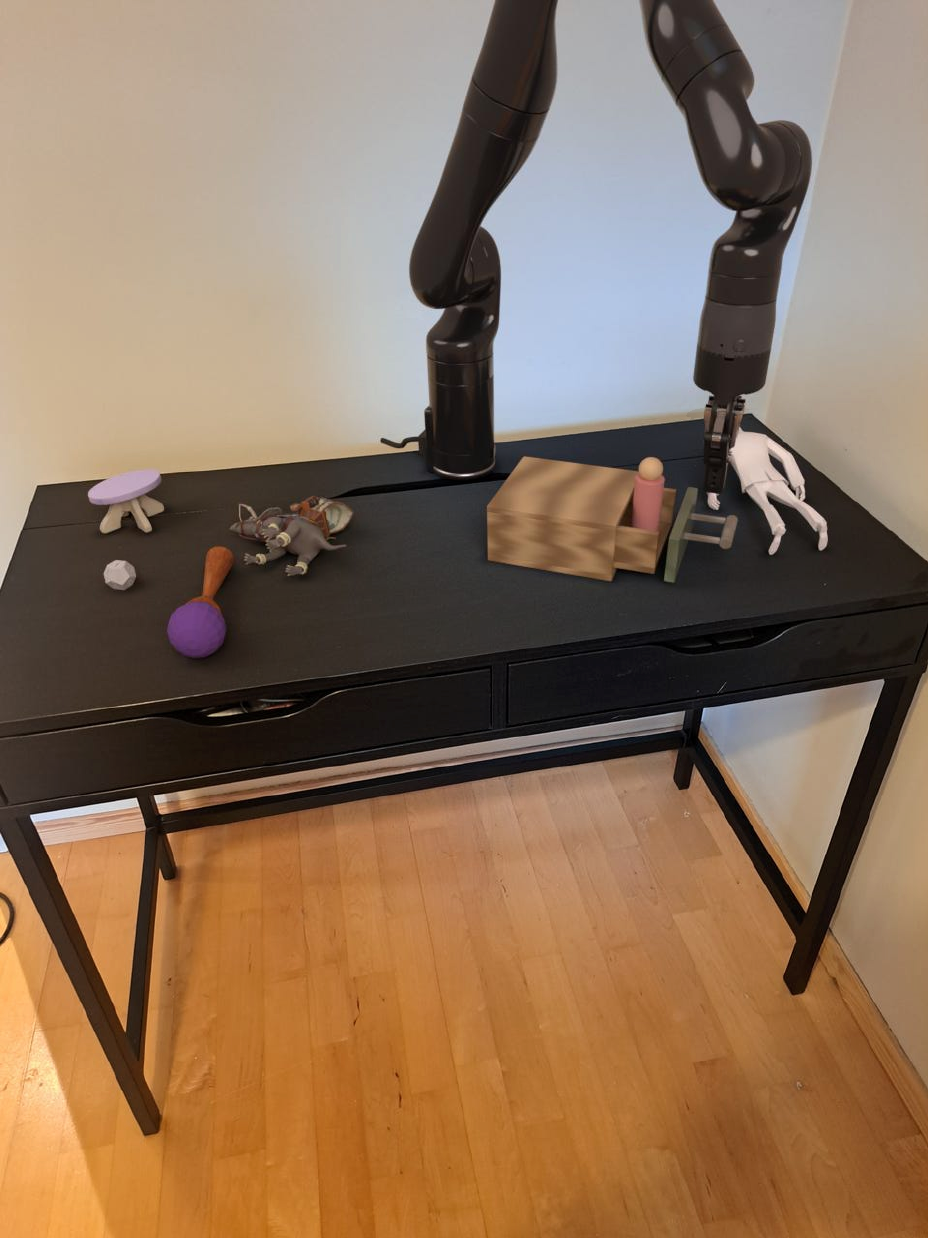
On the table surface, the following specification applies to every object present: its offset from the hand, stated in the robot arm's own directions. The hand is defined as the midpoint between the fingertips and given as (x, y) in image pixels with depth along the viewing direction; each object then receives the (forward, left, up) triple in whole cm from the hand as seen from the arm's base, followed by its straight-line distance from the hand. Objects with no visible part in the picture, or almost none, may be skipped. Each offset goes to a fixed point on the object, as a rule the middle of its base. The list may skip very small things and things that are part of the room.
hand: (713, 490), depth 103 cm
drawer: (-7, 0, -9) cm, 11 cm away
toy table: (-74, -12, -10) cm, 76 cm away
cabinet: (-17, 0, -10) cm, 20 cm away
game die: (-65, -26, -10) cm, 71 cm away
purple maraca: (-51, -28, -10) cm, 60 cm away
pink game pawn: (-7, 0, -8) cm, 11 cm away
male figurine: (+5, +17, -10) cm, 20 cm away
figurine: (-49, -10, -10) cm, 51 cm away
